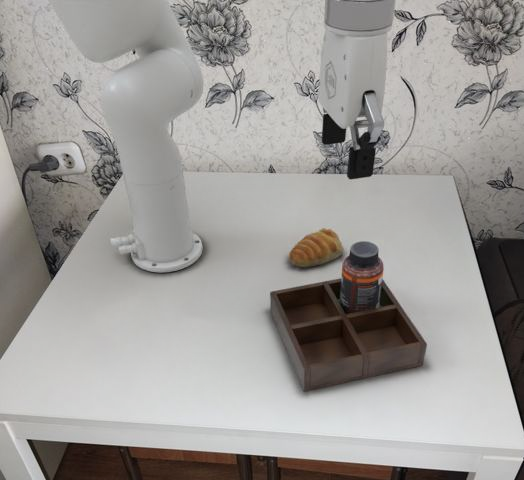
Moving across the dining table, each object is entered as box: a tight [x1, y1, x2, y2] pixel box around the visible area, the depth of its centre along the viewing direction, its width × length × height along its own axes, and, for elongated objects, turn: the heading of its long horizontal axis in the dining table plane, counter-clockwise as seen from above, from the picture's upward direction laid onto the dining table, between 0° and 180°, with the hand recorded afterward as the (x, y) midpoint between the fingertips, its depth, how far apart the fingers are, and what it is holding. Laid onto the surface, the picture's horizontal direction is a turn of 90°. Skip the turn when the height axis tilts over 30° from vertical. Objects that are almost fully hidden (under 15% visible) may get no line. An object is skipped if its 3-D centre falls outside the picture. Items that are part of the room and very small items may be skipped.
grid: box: [269, 278, 428, 392], centre depth 86 cm, size 17×17×4 cm
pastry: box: [289, 227, 344, 269], centre depth 101 cm, size 9×7×4 cm
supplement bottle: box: [340, 240, 385, 314], centre depth 86 cm, size 6×6×11 cm
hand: (345, 159), depth 76 cm, fingers open, 9 cm apart
